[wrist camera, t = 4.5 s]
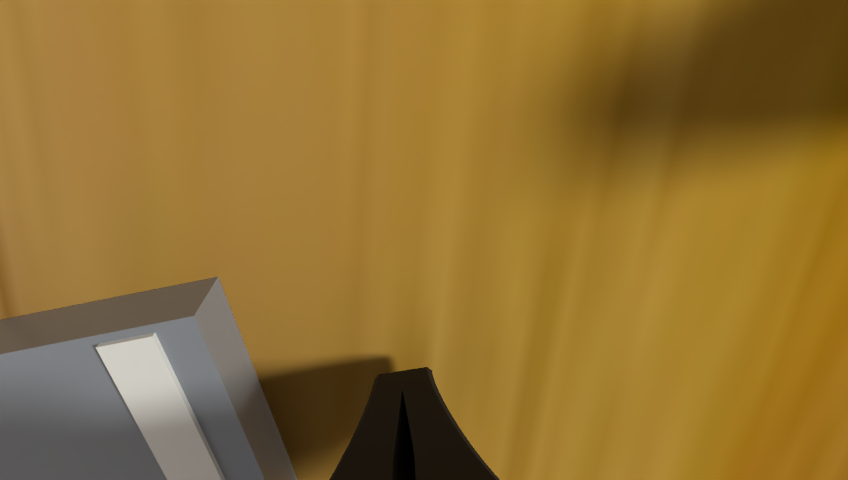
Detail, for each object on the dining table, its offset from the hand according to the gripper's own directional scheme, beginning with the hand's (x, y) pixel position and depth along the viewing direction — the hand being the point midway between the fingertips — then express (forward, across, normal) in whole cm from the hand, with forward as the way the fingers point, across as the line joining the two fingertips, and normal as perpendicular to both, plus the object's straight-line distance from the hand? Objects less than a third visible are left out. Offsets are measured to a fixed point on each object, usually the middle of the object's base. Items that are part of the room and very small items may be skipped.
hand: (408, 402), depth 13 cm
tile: (+1, +9, 0) cm, 9 cm away
